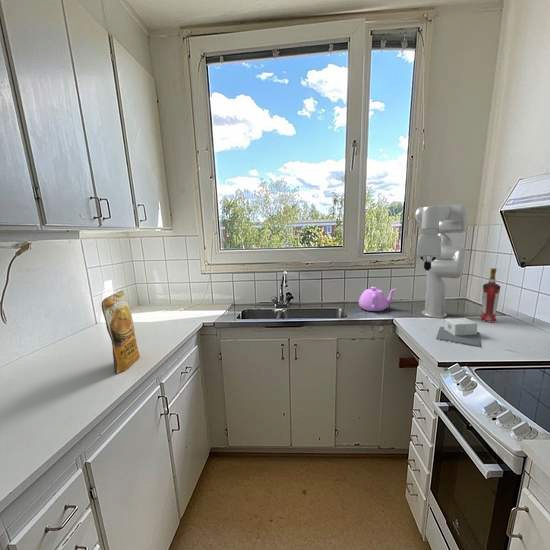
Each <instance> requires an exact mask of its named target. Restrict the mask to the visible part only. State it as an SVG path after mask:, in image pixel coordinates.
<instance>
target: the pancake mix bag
mask: <svg viewBox="0 0 550 550" xmlns="http://www.w3.org/2000/svg"><path fill="white" fill-rule="evenodd" d="M101 311H102V314H103V317H104V320H105V326H106V330H107V334H108V336H109V338H110V340H111V345H112V358H113V373H115V374H119V373H122V372H126V371H127V370H128V369H129V368H130V367H132V366H133V365H134V363H136V362H137V361H138V360H139V359H140V357H141V355H140V351H139V347H138V343H137V337H136V333H135V326H134V319H133V315H132V312H131V308H130V306H129V303H128V300H127V297H126V294H125V292H124V291H123V290H120V291H118V292H116V293H112V294H111V295H109V296H107V297H105V298H104V299H103V300H102V301H101Z"/></svg>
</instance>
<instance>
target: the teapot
mask: <svg viewBox="0 0 550 550" xmlns="http://www.w3.org/2000/svg"><path fill="white" fill-rule="evenodd" d="M396 290H397V288H393V289H391V290H390V291H389V295H388V297H386V296H387V295H385V293H384V292H383V290H381V289H377V287H376V286H371V287H370V288H368V289H364V290H363V292H362V294H361V295H360V296H359V300H358V305H359V307H360V308H361V309H362V310H365V311H369V312H382V311H385V310H386V309H387V307H388V306H389V304H391V303H392V300H393V294H394V292H395V291H396Z"/></svg>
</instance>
